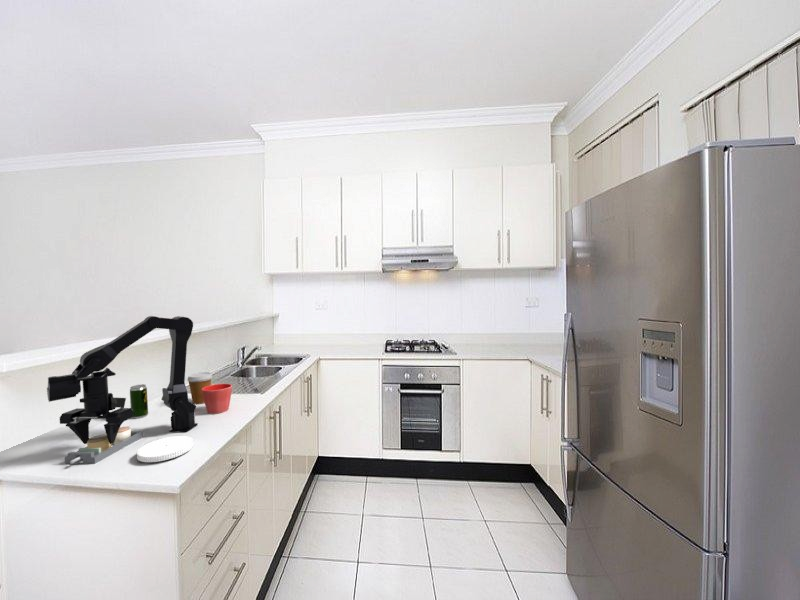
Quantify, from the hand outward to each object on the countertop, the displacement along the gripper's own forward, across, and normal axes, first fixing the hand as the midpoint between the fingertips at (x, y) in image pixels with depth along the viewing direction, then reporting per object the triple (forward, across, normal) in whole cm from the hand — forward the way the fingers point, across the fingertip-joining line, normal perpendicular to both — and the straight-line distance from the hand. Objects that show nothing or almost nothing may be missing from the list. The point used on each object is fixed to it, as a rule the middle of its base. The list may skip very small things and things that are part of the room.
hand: (99, 443), depth 107 cm
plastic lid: (+4, -21, 0) cm, 21 cm away
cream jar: (+3, 0, -8) cm, 9 cm away
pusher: (+3, 0, +6) cm, 6 cm away
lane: (+3, 0, -3) cm, 4 cm away
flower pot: (+3, -16, -36) cm, 40 cm away
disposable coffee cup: (+3, -2, -47) cm, 47 cm away
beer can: (+3, +12, -30) cm, 33 cm away
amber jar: (+3, 0, 0) cm, 3 cm away
